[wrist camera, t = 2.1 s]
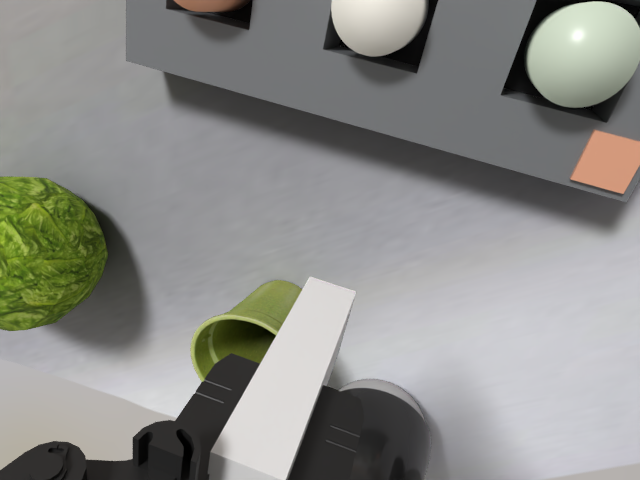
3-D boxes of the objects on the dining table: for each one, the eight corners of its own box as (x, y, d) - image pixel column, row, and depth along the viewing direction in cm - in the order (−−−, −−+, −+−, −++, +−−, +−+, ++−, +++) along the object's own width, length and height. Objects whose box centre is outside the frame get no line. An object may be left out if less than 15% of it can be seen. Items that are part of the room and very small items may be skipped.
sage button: (639, 14, 25) (663, 14, 22) (595, 106, 28) (611, 118, 24) (545, -7, 26) (555, -10, 23) (510, 85, 28) (514, 93, 25)
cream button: (439, -30, 27) (435, -36, 24) (414, 60, 29) (406, 66, 26) (357, -48, 28) (342, -56, 25) (339, 41, 30) (323, 44, 27)
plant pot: (246, 247, 42) (196, 298, 34) (345, 284, 41) (316, 345, 33) (231, 326, 46) (184, 386, 39) (320, 362, 45) (289, 432, 38)
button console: (741, -63, 25) (789, -78, 21) (609, 181, 31) (627, 204, 28) (166, -172, 30) (123, -198, 26) (158, 56, 37) (123, 61, 33)
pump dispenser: (379, 341, 42) (337, 488, 29) (457, 417, 43) (452, 594, 30) (306, 389, 47) (242, 535, 34) (378, 457, 48) (343, 624, 35)
